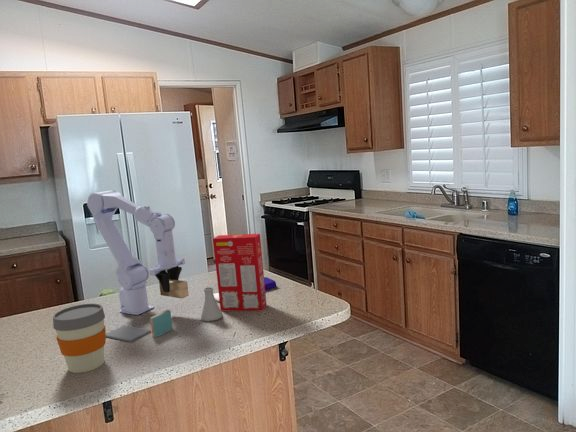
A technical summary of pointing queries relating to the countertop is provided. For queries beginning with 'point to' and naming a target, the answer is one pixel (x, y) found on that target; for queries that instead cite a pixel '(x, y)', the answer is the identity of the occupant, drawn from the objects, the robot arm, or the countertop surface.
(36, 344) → the countertop surface
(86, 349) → the reusable coffee cup
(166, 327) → the tile
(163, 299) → the countertop surface
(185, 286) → the tall tan prism
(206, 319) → the flask
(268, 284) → the spray bottle
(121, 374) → the countertop surface
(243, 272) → the food packaging
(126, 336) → the plate
